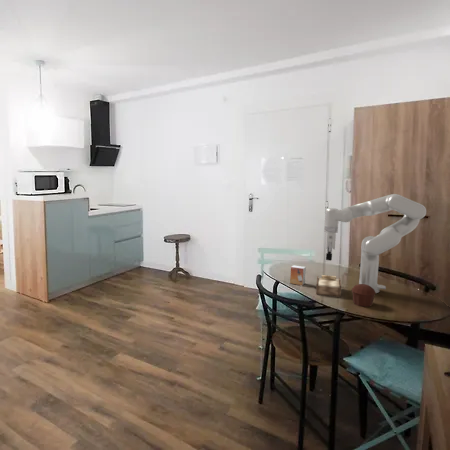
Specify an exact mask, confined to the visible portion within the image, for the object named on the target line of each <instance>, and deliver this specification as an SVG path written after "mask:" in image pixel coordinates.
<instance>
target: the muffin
mask: <svg viewBox="0 0 450 450" xmlns="http://www.w3.org/2000/svg"><path fill="white" fill-rule="evenodd" d="M351 293H352V300H353V302H352V303H354V305H356V306H358V307H364V308H365V307H372V305H373V303H374V297H375V296H376V294H377V293H376V292H375V290H374V289H373V288H372V287H371V286H369V285H366V284H359V283H358V284H355V285H354V286H353V287H352V288H351Z"/></svg>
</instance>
